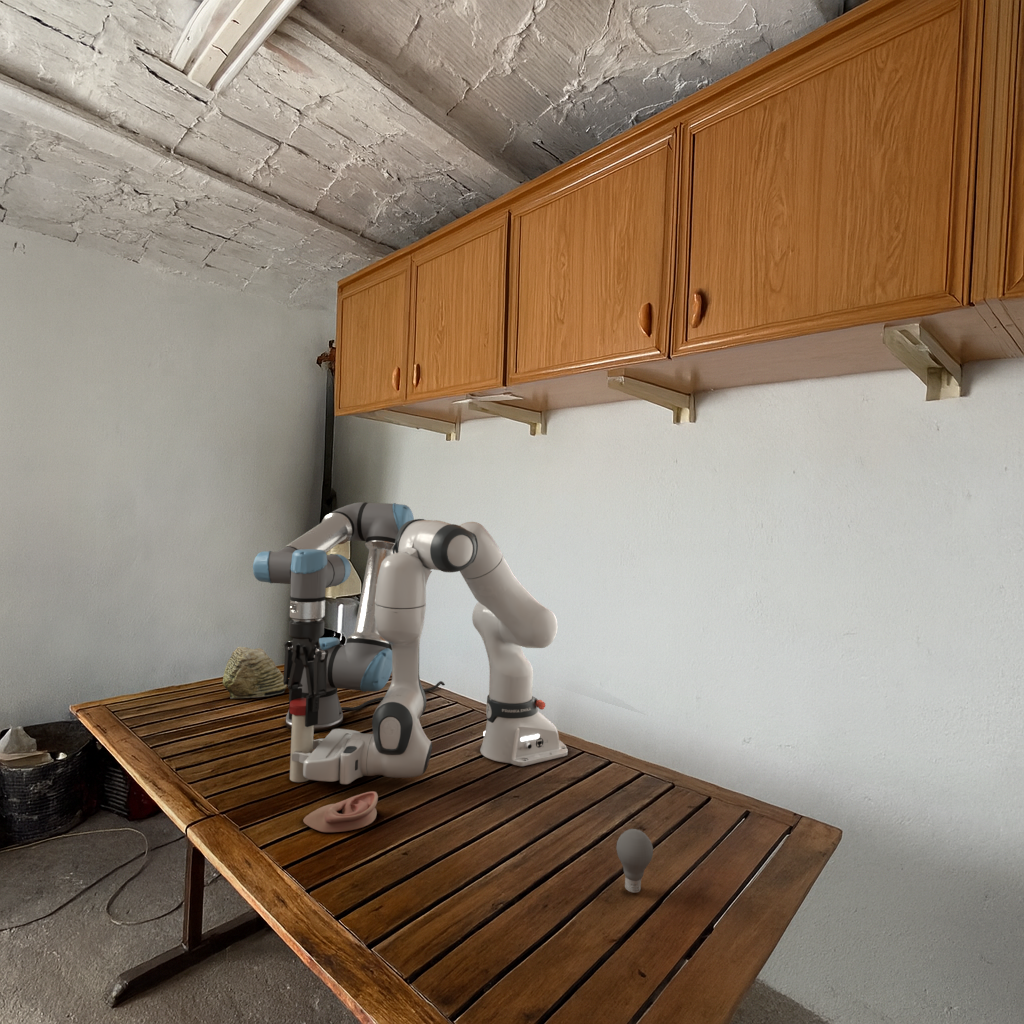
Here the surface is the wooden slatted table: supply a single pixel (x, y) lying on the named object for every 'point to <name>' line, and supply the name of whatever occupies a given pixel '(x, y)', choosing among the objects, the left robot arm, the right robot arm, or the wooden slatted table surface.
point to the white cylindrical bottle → (300, 745)
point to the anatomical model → (344, 814)
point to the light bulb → (634, 857)
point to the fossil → (252, 674)
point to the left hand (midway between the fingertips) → (303, 721)
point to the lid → (298, 706)
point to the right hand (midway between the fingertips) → (297, 750)
